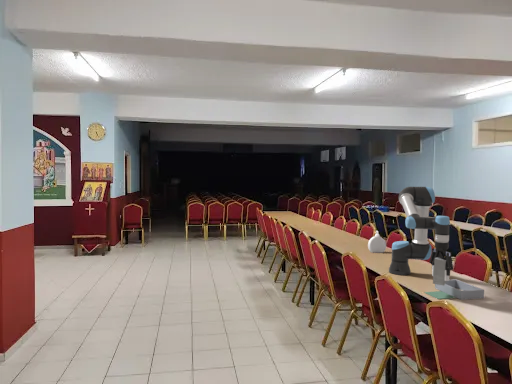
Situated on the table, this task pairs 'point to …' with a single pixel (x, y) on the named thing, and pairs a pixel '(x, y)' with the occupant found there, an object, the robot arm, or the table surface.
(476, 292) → the parts bin
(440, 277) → the skincare box
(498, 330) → the table surface
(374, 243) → the soap bottle
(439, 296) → the pad
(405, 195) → the robot arm
